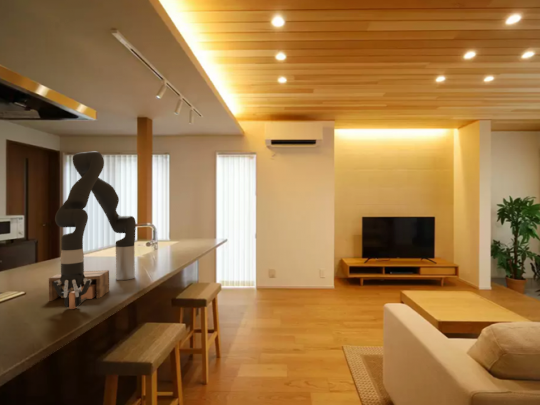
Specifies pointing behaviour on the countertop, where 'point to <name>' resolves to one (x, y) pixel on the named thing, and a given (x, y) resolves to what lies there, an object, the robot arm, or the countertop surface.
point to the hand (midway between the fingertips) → (72, 306)
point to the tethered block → (88, 295)
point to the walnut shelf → (97, 278)
